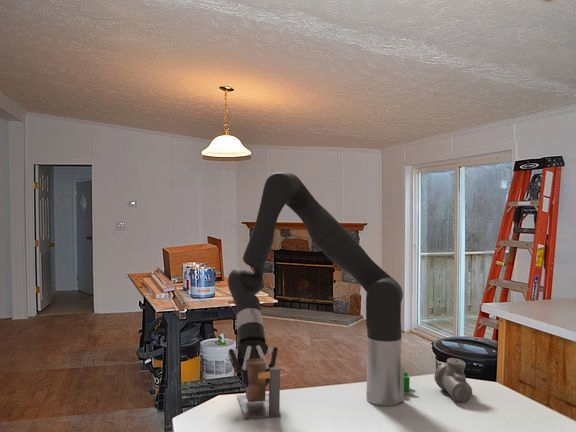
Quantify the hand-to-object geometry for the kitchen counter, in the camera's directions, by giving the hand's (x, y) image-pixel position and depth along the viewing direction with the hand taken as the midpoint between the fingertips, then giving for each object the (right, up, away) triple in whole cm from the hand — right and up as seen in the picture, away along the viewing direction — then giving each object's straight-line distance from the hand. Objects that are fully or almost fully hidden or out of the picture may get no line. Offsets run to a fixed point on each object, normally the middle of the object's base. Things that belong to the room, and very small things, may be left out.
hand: (256, 384), depth 130 cm
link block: (0, -4, +2) cm, 4 cm away
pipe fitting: (+55, -7, +10) cm, 56 cm away
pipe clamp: (+41, -7, +16) cm, 45 cm away
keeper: (0, -6, +1) cm, 6 cm away
